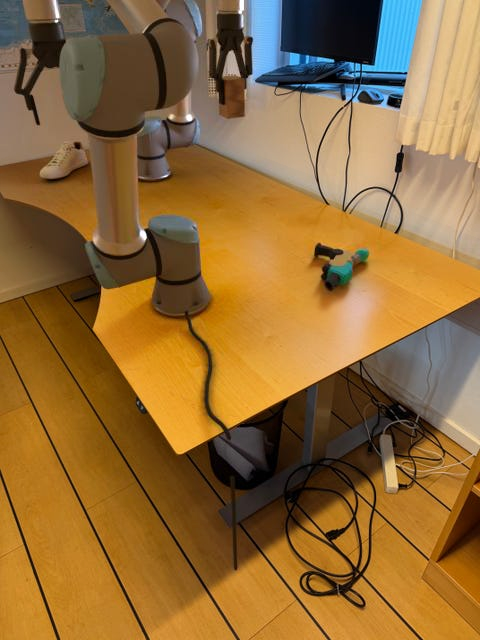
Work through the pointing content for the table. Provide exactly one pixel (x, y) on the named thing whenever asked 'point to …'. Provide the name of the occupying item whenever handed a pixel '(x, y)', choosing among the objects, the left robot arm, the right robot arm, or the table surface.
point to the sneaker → (65, 161)
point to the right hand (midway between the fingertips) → (66, 120)
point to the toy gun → (339, 264)
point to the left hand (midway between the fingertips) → (231, 102)
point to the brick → (233, 97)
